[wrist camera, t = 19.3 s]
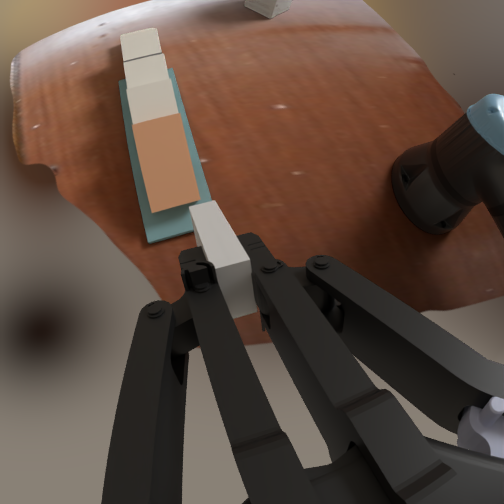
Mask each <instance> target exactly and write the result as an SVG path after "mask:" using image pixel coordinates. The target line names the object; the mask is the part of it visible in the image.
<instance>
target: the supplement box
mask: <svg viewBox="0 0 504 504" xmlns="http://www.w3.org/2000/svg"><path fill="white" fill-rule="evenodd" d="M291 3H292V0H245V4H244V6H245V7H247V8H249V9H251V10H253V11H255V12H257V13H259V14H261V15H263V16H265V17H267V18H269V19H271V18H273V17H275V16H277V15H278V14H280V13H283V12H285V11H287V10H289V8H290V5H291Z"/></svg>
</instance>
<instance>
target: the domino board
mask: <svg viewBox="0 0 504 504" xmlns="http://www.w3.org/2000/svg"><path fill="white" fill-rule="evenodd" d="M167 70H168V75H169V79H170V78H171V81H172V86H173V90H174V95H175V99H176V104H177V108H178V112H179V113H180V114H181V118H182V123H183V127H184V131H185V136H186V140H187V144H188V149H189V153H190V157H191V161H192V166H193V170H194V174H195V178H196V182H197V186H198V190H199V194H200V199H201V200H198V201H194V202H190V203H187V204H183V205H179V206H176V207H172V208H168V209H165V210H161V211H158V212H154V213H152V212H151V208H150V204H149V200H148V196H147V192H146V187H145V183H144V179H143V175H142V170H141V166H140V162H139V157H138V153H137V148H136V143H135V138H134V133H133V129H132V125H133V122H132V117H131V112H130V107H129V102H128V97H127V91H126V89H127V83H126V79H123V80H120V81H119V89H120V97H121V104H122V111H123V118H124V124H125V131H126V137H127V143H128V149H129V154H130V160H131V165H132V171H133V176H134V181H135V186H136V191H137V195H138V200H139V205H140V209H141V214H142V218H143V223H144V227H145V231H146V235H147V239H148V243H149V244H151V243H155V242H158V241H162V240H165V239H169V238H172V237H176V236H179V235H183V234H186V233H190V232H194V229H193V224H192V220H191V215H190V210H189V206H193V205H197V204H202V203H206V202H210V201H212V199H211V196H210V193H209V189H208V186H207V183H206V180H205V176H204V173H203V170H202V167H201V163H200V160H199V157H198V153H197V150H196V147H195V143H194V140H193V137H192V133H191V130H190V127H189V123H188V120H187V116H186V113H185V110H184V106H183V103H182V99H181V96H180V92H179V89H178V86H177V82H176V79H175V75H174V72H173V68H170V69H167Z"/></svg>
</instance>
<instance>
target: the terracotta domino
mask: <svg viewBox="0 0 504 504" xmlns="http://www.w3.org/2000/svg"><path fill="white" fill-rule="evenodd" d="M132 129H133V133H134V138H135V143H136V148H137V153H138V157H139V162H140V166H141V170H142V175H143V179H144V183H145V187H146V192H147V196H148V200H149V204H150V208H151V212H152V213H154V212H158V211H161V210H165V209H168V208H172V207H176V206H179V205H183V204H187V203H190V202H194V201H198V200H201V199H200V194H199V190H198V186H197V182H196V178H195V174H194V170H193V166H192V161H191V157H190V153H189V149H188V144H187V140H186V136H185V131H184V127H183V123H182V118H181V114H180V113H177V114H173V115H168V116H164V117H160V118H156V119H152V120H148V121H144V122H141V123H137V124H133V125H132Z"/></svg>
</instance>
